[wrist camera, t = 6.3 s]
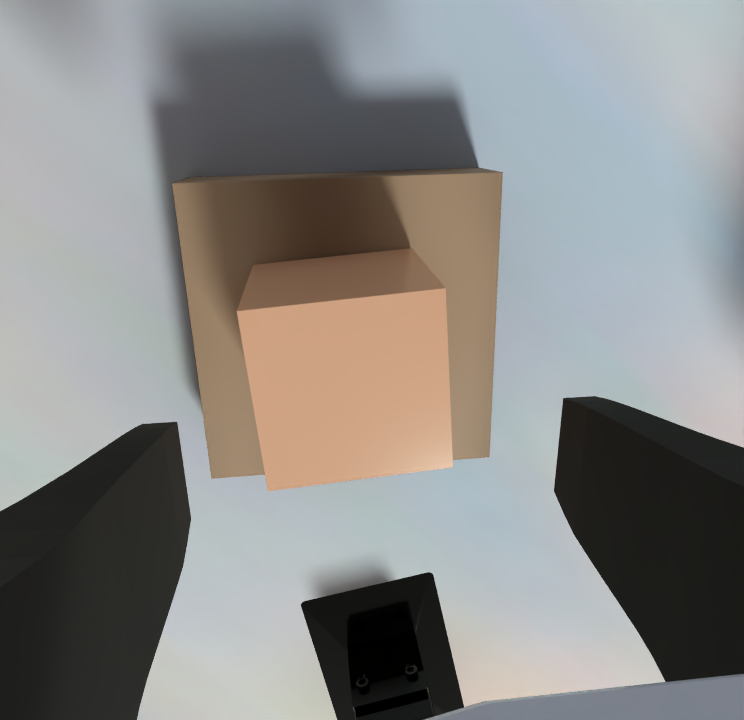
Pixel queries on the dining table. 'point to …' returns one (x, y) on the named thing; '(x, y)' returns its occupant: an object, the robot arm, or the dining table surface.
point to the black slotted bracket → (385, 651)
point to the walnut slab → (326, 239)
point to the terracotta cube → (347, 367)
